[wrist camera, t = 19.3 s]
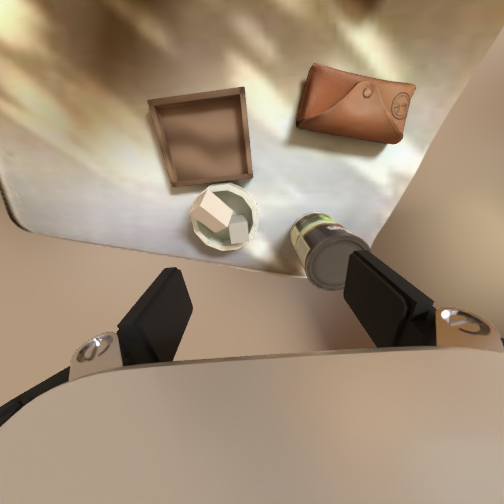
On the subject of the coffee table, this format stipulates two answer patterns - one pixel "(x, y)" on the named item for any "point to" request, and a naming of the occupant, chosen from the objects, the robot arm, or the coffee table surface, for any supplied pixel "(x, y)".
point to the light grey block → (238, 229)
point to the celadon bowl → (239, 204)
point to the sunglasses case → (354, 105)
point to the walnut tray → (204, 136)
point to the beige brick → (211, 211)
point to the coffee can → (324, 249)
